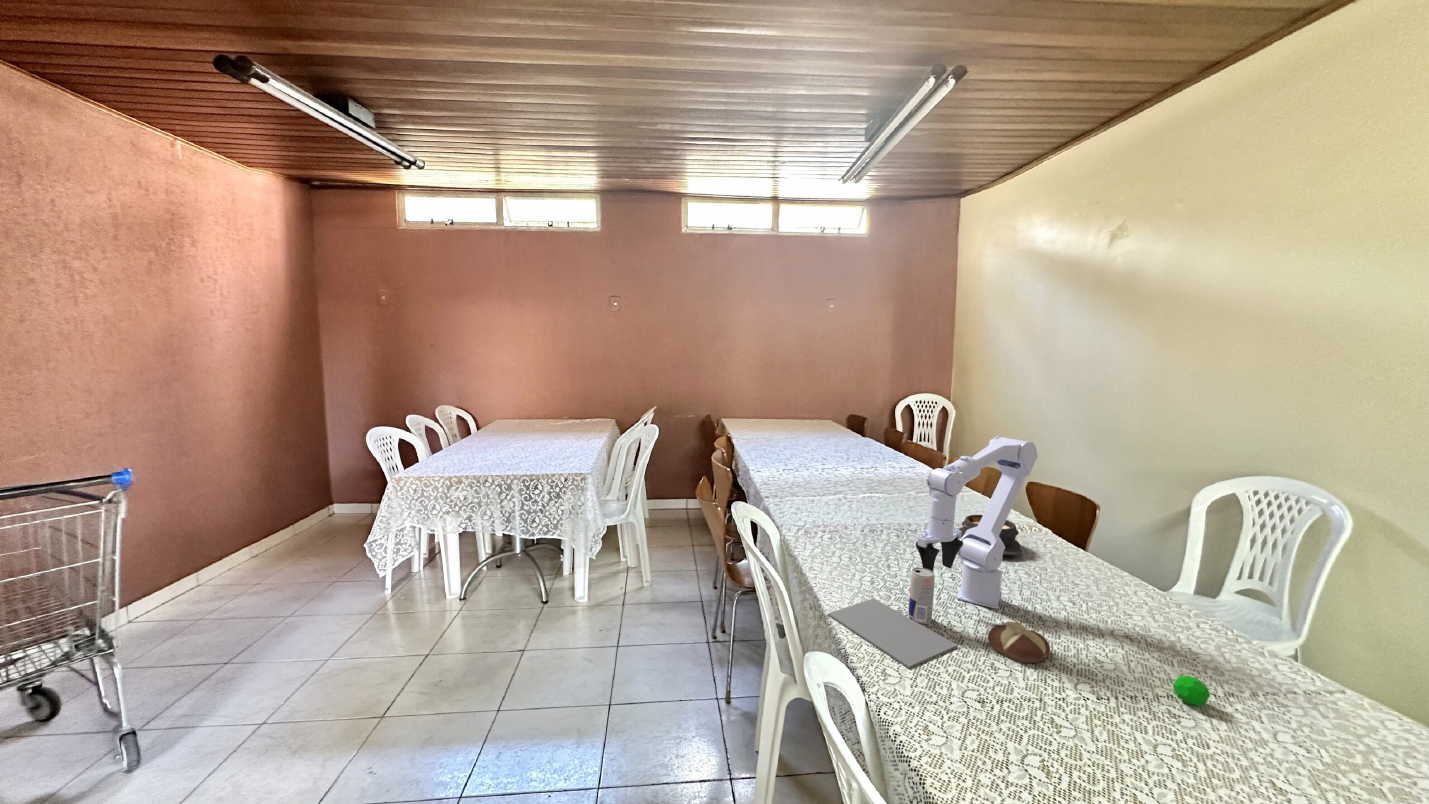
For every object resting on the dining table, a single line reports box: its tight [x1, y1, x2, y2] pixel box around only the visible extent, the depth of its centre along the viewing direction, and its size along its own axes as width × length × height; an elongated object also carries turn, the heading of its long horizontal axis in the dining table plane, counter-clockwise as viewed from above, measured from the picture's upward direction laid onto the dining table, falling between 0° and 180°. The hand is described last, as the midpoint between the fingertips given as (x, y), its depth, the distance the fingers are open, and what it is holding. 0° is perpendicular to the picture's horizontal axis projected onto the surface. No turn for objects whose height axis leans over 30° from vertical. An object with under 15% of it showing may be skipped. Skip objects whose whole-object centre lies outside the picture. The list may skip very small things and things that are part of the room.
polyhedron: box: [1172, 675, 1211, 707], centre depth 97 cm, size 5×5×5 cm
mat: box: [827, 598, 958, 670], centre depth 120 cm, size 16×24×1 cm, turn 30°
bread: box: [987, 621, 1051, 664], centre depth 114 cm, size 11×11×5 cm
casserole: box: [958, 514, 1023, 556], centre depth 174 cm, size 25×19×8 cm
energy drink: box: [907, 567, 936, 625], centre depth 125 cm, size 5×5×12 cm
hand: (937, 569), depth 130 cm, fingers open, 7 cm apart
